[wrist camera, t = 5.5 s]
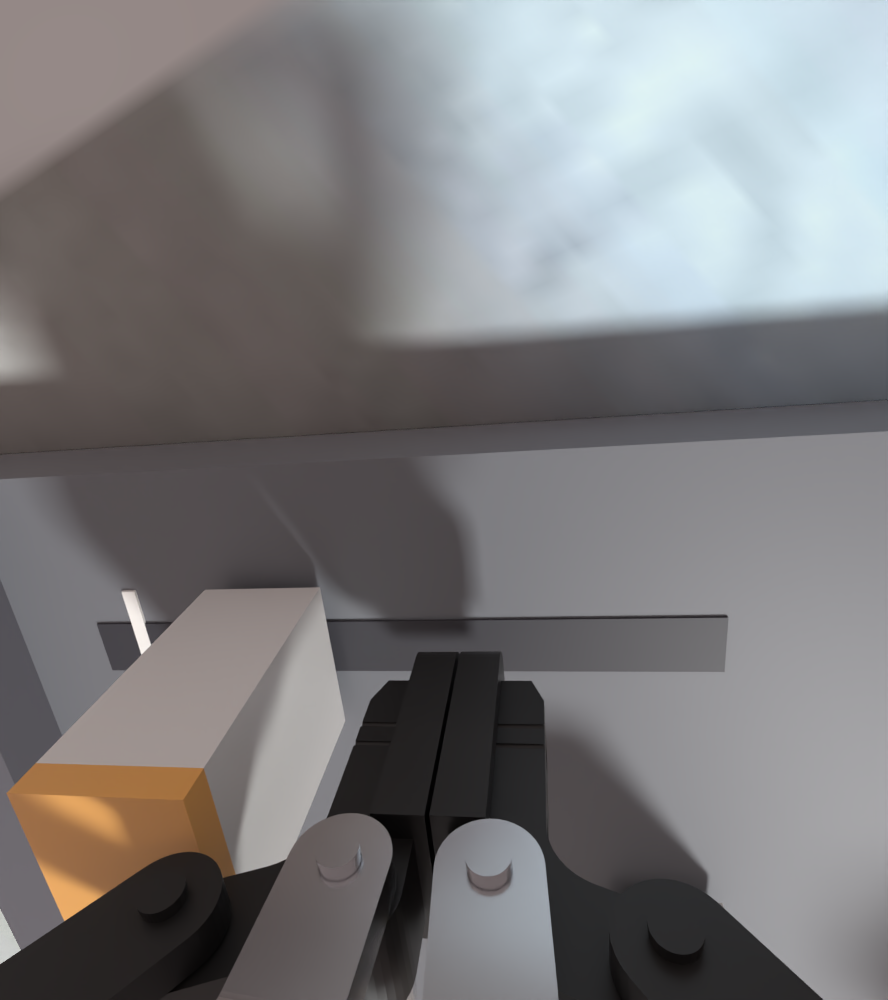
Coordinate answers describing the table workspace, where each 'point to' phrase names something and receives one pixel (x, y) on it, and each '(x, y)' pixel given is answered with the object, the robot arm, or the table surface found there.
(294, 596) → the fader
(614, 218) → the table surface
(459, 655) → the robot arm
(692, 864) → the console
